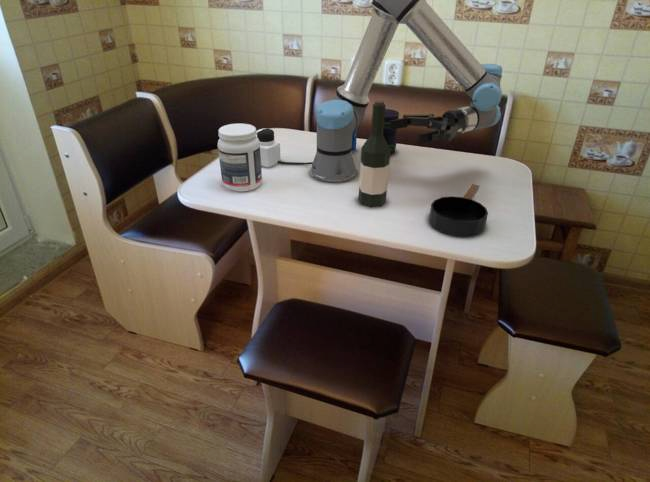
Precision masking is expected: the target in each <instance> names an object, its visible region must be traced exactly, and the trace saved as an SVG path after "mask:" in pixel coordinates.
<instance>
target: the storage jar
mask: <svg viewBox="0 0 650 482" xmlns="http://www.w3.org/2000/svg"><path fill="white" fill-rule="evenodd" d="M396 119H400V112H399V111H397V110H395V109H390V108H385V118H384V130H383V136H384V138H385V140H386V142H387V144H388V146H389V148H390V150H391V151H390V157H392V156H394V155H395V154H396V148H397V141H398V138H397V133H398V129H394V130H389V123H390V121H391V120H396Z"/></svg>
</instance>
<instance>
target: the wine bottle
mask: <svg viewBox="0 0 650 482" xmlns="http://www.w3.org/2000/svg"><path fill="white" fill-rule="evenodd" d="M386 106H387V105H386V104H385V101H384V100H381V99H379V100H375V101H374V103H373V104H372V112H371V113H372V114H371V127H370V129H371V130H370V135H369V136H368V137H367V139H366V140H365V142H364V143H363V145H362V146H361V148H360V149H361V150H360V164H359V165H360V167H359V180H358V181H359V184H358V197H357V198H358V202H359V203H360V205H361V206H364V207H367V208H368V207H369V208H380V207H381V208H382V206H383V205H385V204H386V203H387V193H388V183H389V181H388V180H389V173H390V172H389V171H390V162H391V156H390V151H391V150H390V148H389V146H388V144H387V142H386V140H385V138H384V136H383V130H384V118H385V109H386Z"/></svg>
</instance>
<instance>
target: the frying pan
mask: <svg viewBox="0 0 650 482" xmlns="http://www.w3.org/2000/svg"><path fill="white" fill-rule="evenodd" d="M479 189H480V185H479V184H475V183H472V184H470V186H469V187H468V189H467V191H466V192H465V193H464V195H463V196H452V195H451V196H441V197H439V198H435V199H434V200H433V202H432V203H430V210H429V215H428V216H429V218H428V219H429V220H428V222H429V224H430V226H431V227H432V228H433V229H434V230H436V231H438V232H439V233H442V234H444V235H448V236H451V237H458V238H470V237H474V236H475V237H476V236H479V235H480V234H482V233H483V232H484V229H485V227H486V225H487V219H488V216H489V211H488V209H487V207H485V205H484V204H482V203H481V202H478V201H476V200H474V198H475V196H476V194H477V193H478V192H479Z"/></svg>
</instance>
